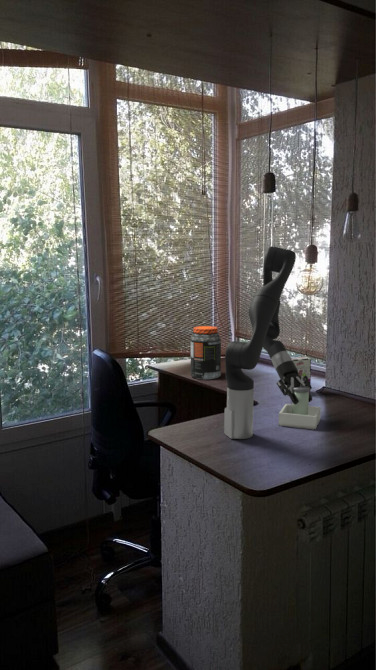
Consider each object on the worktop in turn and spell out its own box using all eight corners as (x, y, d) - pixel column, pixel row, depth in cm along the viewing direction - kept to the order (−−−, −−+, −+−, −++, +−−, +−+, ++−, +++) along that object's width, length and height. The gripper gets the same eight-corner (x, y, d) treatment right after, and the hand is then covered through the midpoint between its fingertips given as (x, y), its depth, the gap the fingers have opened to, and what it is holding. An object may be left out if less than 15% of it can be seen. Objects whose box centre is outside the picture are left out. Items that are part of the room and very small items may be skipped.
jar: (306, 416, 204) (307, 390, 202) (289, 414, 206) (290, 388, 205) (310, 412, 209) (311, 386, 208) (293, 409, 212) (294, 384, 211)
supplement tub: (221, 373, 291) (222, 325, 288) (220, 380, 276) (220, 329, 272) (191, 373, 293) (192, 325, 289) (188, 379, 278) (188, 329, 274)
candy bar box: (305, 391, 256) (306, 356, 253) (310, 393, 251) (311, 358, 249) (283, 392, 253) (284, 357, 250) (288, 395, 248) (289, 359, 246)
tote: (315, 429, 200) (316, 416, 199) (278, 425, 204) (278, 413, 204) (320, 419, 212) (320, 407, 212) (285, 415, 217) (285, 403, 216)
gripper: (274, 361, 208) (293, 399, 199) (303, 358, 215) (323, 394, 206) (265, 372, 213) (283, 409, 205) (293, 368, 220) (313, 404, 212)
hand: (303, 402), depth 206 cm, fingers closed on jar, 6 cm apart
